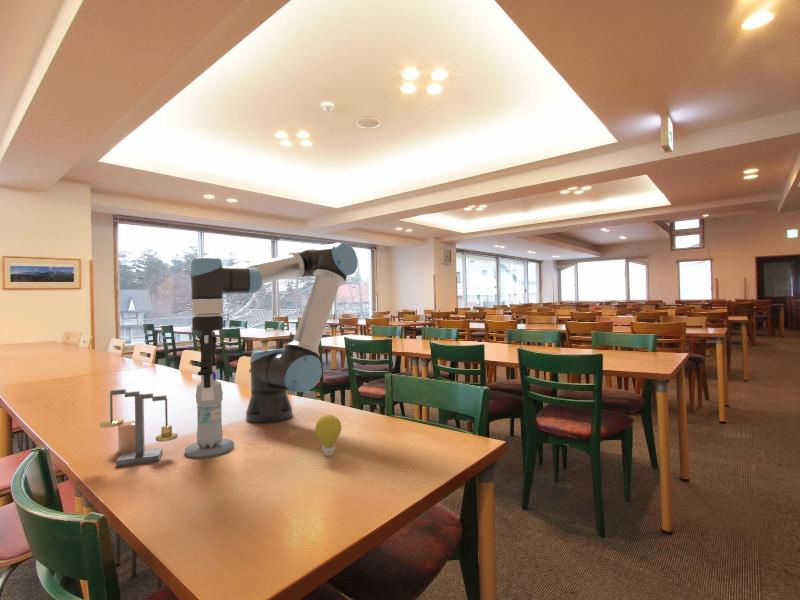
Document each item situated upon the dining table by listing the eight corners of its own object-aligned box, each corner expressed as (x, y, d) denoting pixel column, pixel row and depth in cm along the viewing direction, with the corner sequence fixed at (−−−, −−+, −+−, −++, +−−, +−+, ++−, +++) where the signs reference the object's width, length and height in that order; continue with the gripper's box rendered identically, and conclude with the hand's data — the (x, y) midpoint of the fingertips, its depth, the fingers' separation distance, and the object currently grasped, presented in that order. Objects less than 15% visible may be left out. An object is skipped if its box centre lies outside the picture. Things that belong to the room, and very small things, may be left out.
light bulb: (346, 451, 110) (345, 412, 110) (334, 460, 104) (333, 420, 104) (323, 448, 112) (323, 411, 112) (310, 457, 106) (309, 417, 106)
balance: (179, 451, 112) (178, 383, 112) (176, 459, 106) (175, 387, 106) (104, 460, 106) (102, 389, 106) (96, 469, 100) (95, 394, 100)
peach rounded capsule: (146, 444, 118) (146, 419, 118) (141, 451, 112) (141, 425, 112) (121, 447, 116) (121, 422, 116) (115, 454, 110) (115, 428, 110)
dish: (234, 439, 120) (234, 436, 120) (233, 454, 109) (233, 450, 109) (187, 445, 116) (187, 442, 116) (181, 461, 105) (181, 457, 105)
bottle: (213, 450, 109) (212, 373, 109) (190, 449, 110) (189, 373, 110) (228, 442, 115) (227, 369, 116) (207, 440, 117) (206, 369, 117)
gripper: (196, 314, 123) (198, 386, 123) (186, 317, 100) (188, 406, 100) (224, 313, 126) (226, 384, 126) (220, 316, 102) (222, 403, 103)
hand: (209, 394), depth 113 cm, fingers open, 13 cm apart
